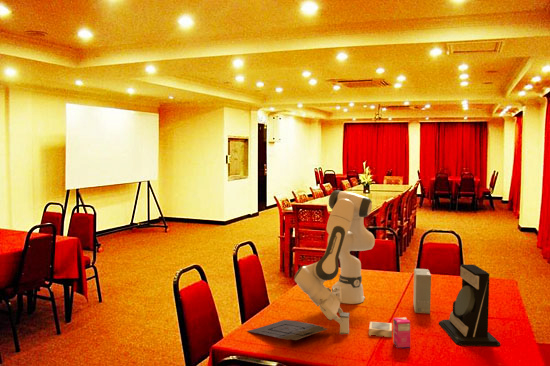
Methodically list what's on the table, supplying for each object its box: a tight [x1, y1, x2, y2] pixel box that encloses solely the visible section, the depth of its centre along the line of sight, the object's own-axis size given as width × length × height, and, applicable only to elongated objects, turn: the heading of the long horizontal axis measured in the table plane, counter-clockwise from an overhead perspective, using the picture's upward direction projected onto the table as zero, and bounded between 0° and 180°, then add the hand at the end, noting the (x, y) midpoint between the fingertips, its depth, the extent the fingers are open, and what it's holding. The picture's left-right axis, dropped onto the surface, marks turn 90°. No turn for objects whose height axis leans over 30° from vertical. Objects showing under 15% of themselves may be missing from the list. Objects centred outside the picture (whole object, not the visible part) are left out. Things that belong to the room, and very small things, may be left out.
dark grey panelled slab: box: [248, 319, 328, 341], centre depth 227 cm, size 24×30×4 cm
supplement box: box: [392, 316, 411, 349], centre depth 213 cm, size 6×6×12 cm
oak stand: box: [368, 321, 393, 338], centre depth 229 cm, size 10×10×3 cm
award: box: [438, 263, 501, 347], centre depth 227 cm, size 30×19×30 cm, turn 178°
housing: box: [338, 311, 350, 335], centre depth 229 cm, size 4×5×8 cm
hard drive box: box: [412, 268, 432, 314], centre depth 263 cm, size 16×8×20 cm, turn 168°
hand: (342, 319), depth 229 cm, fingers open, 8 cm apart
